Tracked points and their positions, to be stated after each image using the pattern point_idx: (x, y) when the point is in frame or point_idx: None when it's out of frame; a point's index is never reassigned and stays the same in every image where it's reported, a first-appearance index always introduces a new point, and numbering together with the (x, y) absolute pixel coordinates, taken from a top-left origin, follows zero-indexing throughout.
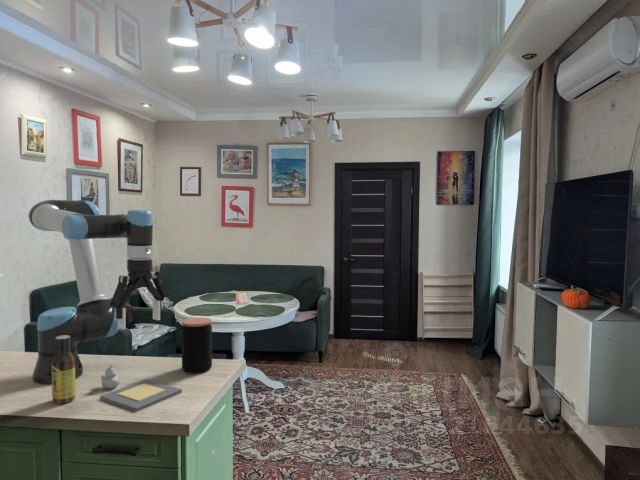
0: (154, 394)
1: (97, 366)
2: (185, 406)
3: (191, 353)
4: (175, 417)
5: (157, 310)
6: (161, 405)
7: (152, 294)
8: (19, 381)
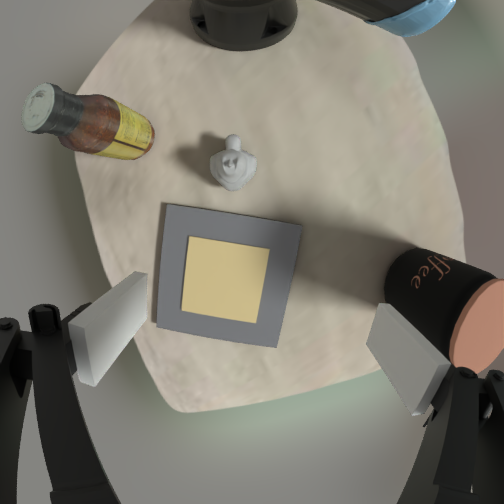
0: (223, 317)
1: (334, 39)
2: (220, 385)
3: (405, 311)
4: (177, 391)
5: (389, 368)
6: (202, 347)
7: (445, 411)
8: None
